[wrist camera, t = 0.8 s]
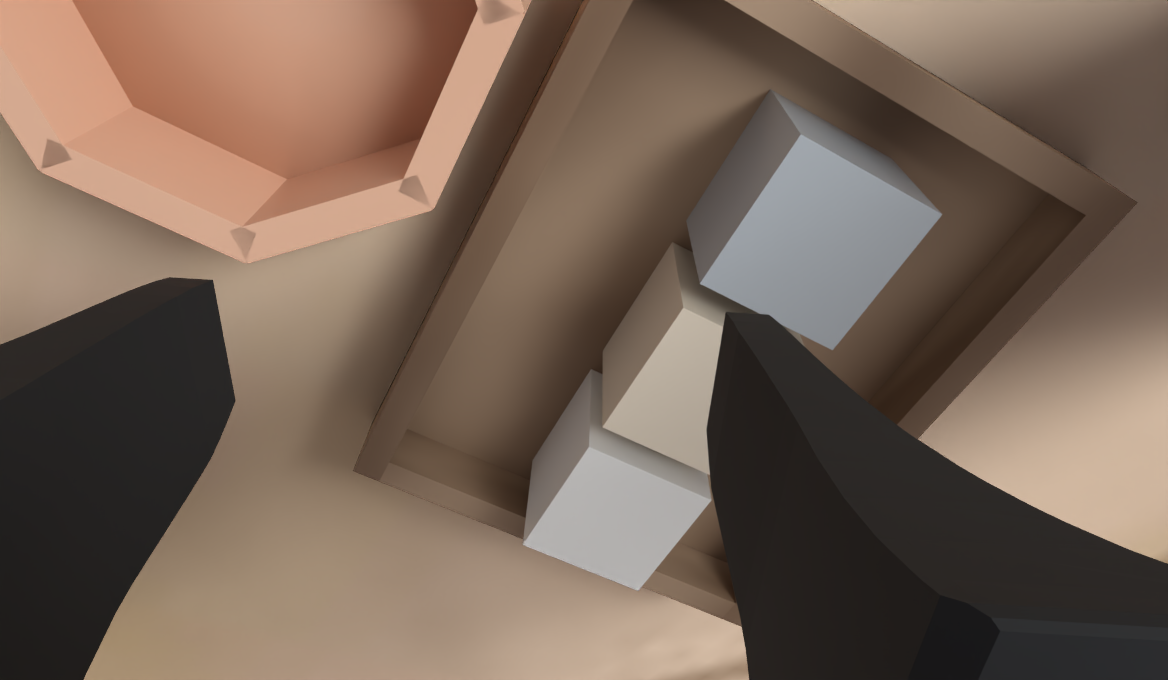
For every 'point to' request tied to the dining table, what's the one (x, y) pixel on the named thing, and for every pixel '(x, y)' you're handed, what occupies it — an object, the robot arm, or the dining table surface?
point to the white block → (608, 496)
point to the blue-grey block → (805, 222)
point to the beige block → (667, 362)
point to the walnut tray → (658, 217)
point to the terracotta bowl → (252, 108)
